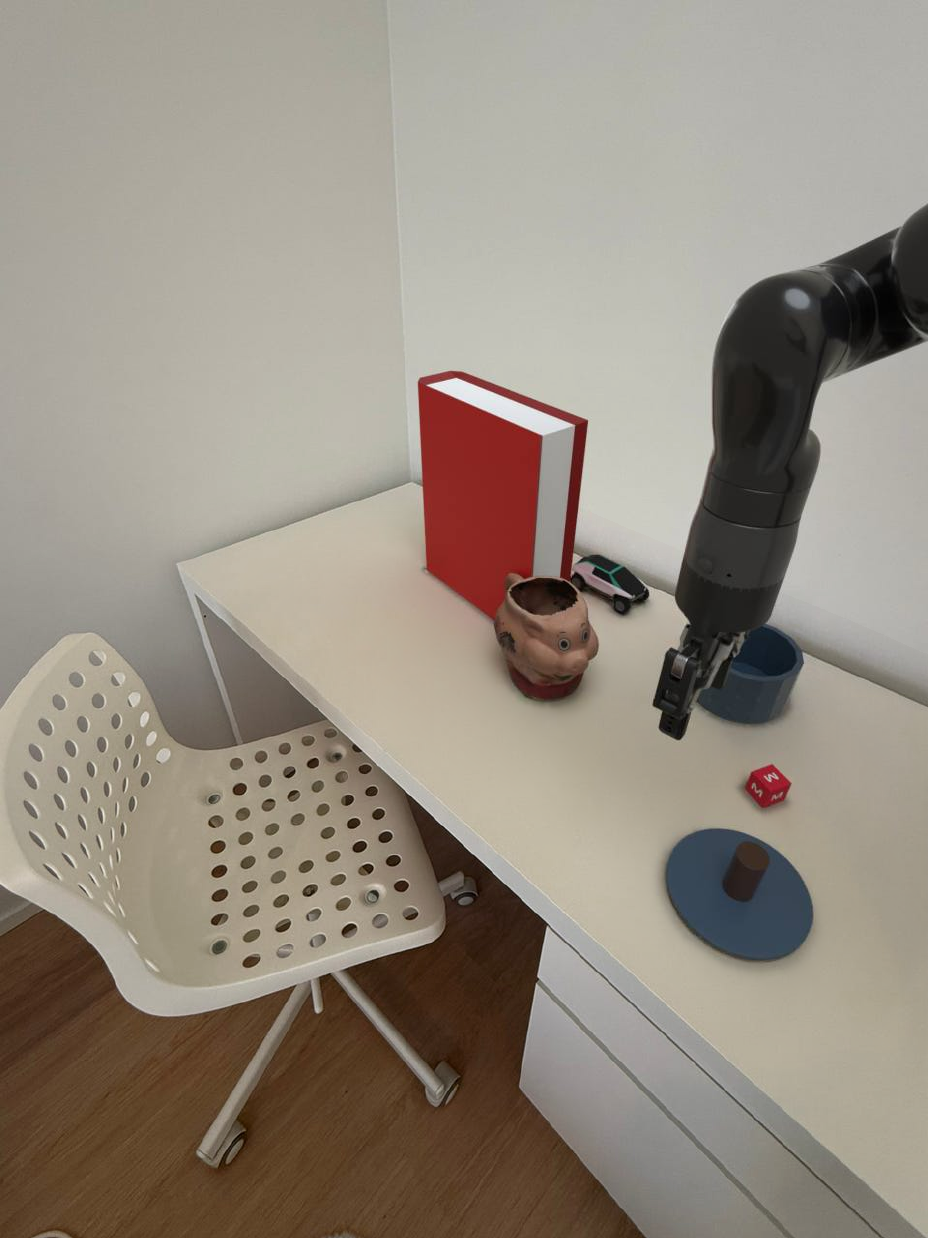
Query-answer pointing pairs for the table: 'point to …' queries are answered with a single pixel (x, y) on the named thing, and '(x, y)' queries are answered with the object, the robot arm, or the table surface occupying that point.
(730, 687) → the tin
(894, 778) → the table surface
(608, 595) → the toy car
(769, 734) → the table surface
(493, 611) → the book
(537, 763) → the table surface
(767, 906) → the lid
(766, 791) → the dice
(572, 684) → the decorative planter
